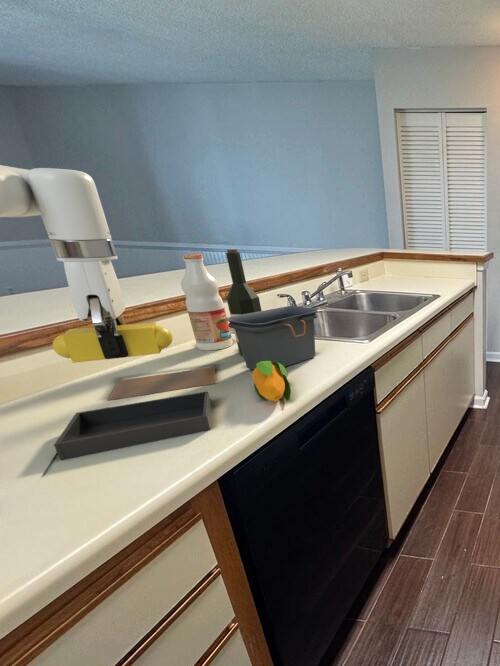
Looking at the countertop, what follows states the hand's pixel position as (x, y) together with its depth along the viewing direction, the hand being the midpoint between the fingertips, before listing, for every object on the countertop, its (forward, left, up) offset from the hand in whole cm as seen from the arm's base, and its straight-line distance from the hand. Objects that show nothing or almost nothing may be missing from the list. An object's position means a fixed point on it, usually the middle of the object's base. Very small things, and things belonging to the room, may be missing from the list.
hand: (119, 352), depth 78 cm
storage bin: (+28, +29, -16) cm, 43 cm away
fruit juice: (+11, +57, -16) cm, 60 cm away
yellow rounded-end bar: (0, 0, 0) cm, 0 cm away
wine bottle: (+21, +45, -16) cm, 52 cm away
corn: (+23, +5, -16) cm, 29 cm away
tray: (0, -1, -16) cm, 16 cm away
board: (+1, +27, -16) cm, 31 cm away
